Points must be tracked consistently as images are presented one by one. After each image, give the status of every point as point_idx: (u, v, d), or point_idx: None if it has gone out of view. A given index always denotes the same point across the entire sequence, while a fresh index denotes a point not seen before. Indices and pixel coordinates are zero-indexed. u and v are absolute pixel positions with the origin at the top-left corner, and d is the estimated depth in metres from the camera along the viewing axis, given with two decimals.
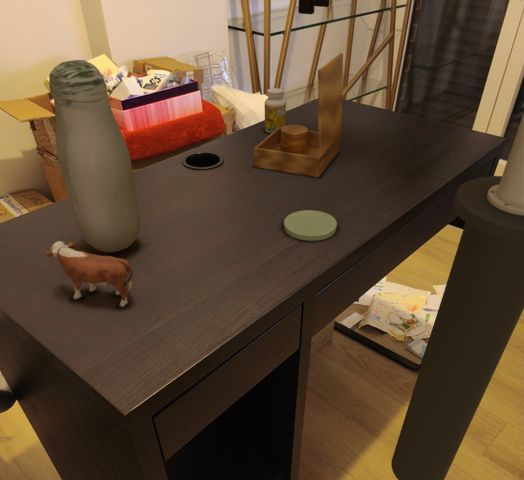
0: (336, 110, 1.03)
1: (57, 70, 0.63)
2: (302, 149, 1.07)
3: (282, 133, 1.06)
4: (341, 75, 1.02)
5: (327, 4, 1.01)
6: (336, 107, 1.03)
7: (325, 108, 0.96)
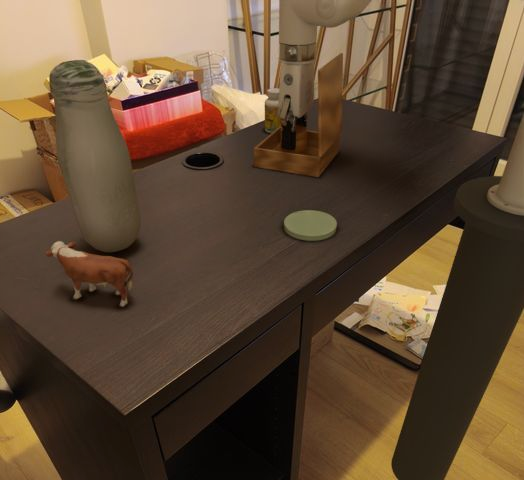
0: (336, 110, 1.03)
1: (57, 70, 0.63)
2: (302, 149, 1.07)
3: None
4: (341, 75, 1.02)
5: None
6: (336, 107, 1.03)
7: (325, 108, 0.96)
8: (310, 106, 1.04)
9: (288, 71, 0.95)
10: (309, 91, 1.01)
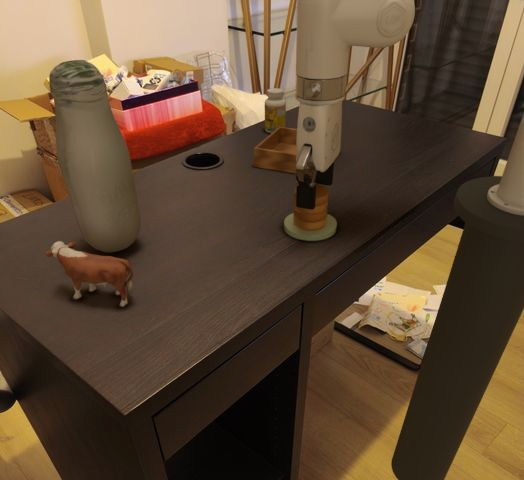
0: None
1: (57, 70, 0.63)
2: (321, 216, 0.83)
3: None
4: None
5: (330, 183, 0.85)
6: None
7: None
8: (336, 154, 0.79)
9: (309, 114, 0.70)
10: (336, 136, 0.76)
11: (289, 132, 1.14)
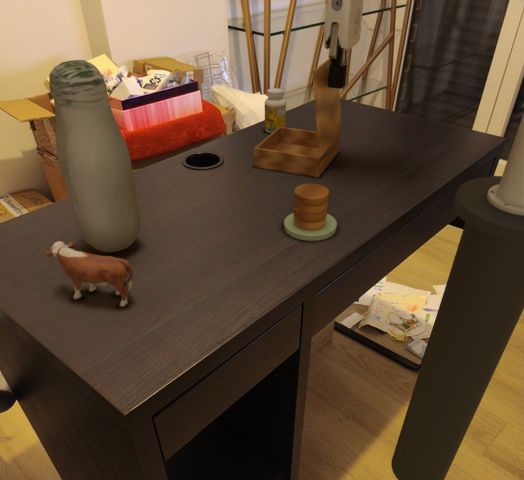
0: (335, 110, 1.03)
1: (57, 70, 0.63)
2: (321, 216, 0.83)
3: (296, 196, 0.82)
4: None
5: None
6: (334, 107, 1.03)
7: (322, 108, 0.96)
8: (357, 40, 0.92)
9: None
10: (358, 21, 0.89)
11: (289, 132, 1.14)
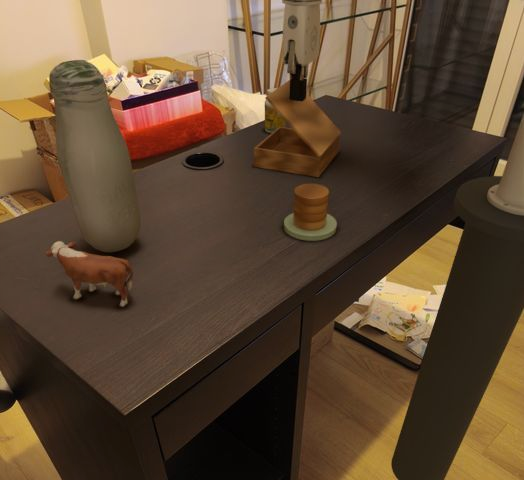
0: (317, 117, 1.06)
1: (57, 70, 0.63)
2: (321, 216, 0.83)
3: (296, 196, 0.82)
4: None
5: (304, 97, 1.01)
6: (315, 115, 1.06)
7: (297, 119, 1.00)
8: (315, 55, 0.97)
9: (292, 13, 0.88)
10: (315, 38, 0.94)
11: (289, 132, 1.14)
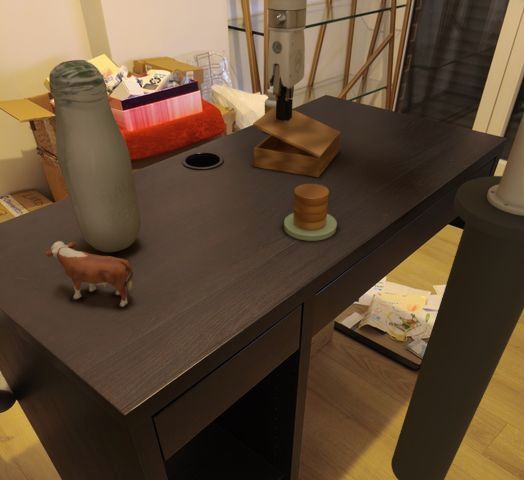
0: (311, 126, 1.08)
1: (57, 70, 0.63)
2: (321, 216, 0.83)
3: (296, 196, 0.82)
4: (292, 111, 1.10)
5: (290, 117, 1.05)
6: (308, 125, 1.08)
7: (289, 133, 1.02)
8: (300, 77, 1.01)
9: (277, 39, 0.92)
10: (299, 61, 0.98)
11: None
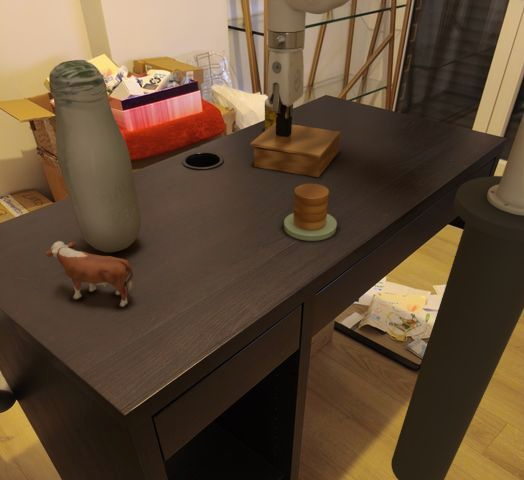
0: (309, 133, 1.09)
1: (57, 70, 0.63)
2: (321, 216, 0.83)
3: (296, 196, 0.82)
4: None
5: (289, 133, 1.07)
6: (306, 133, 1.09)
7: (286, 144, 1.04)
8: (299, 95, 1.03)
9: (276, 59, 0.94)
10: (298, 80, 1.00)
11: None
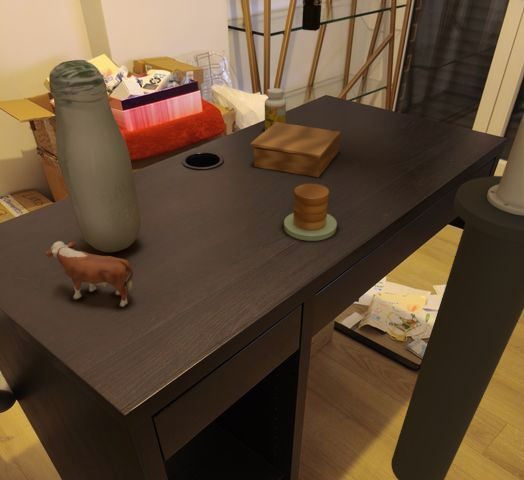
0: (309, 133, 1.09)
1: (57, 70, 0.63)
2: (321, 216, 0.83)
3: (296, 196, 0.82)
4: (290, 125, 1.13)
5: (318, 27, 0.94)
6: (306, 133, 1.09)
7: (286, 144, 1.04)
8: None
9: None
10: None
11: None
